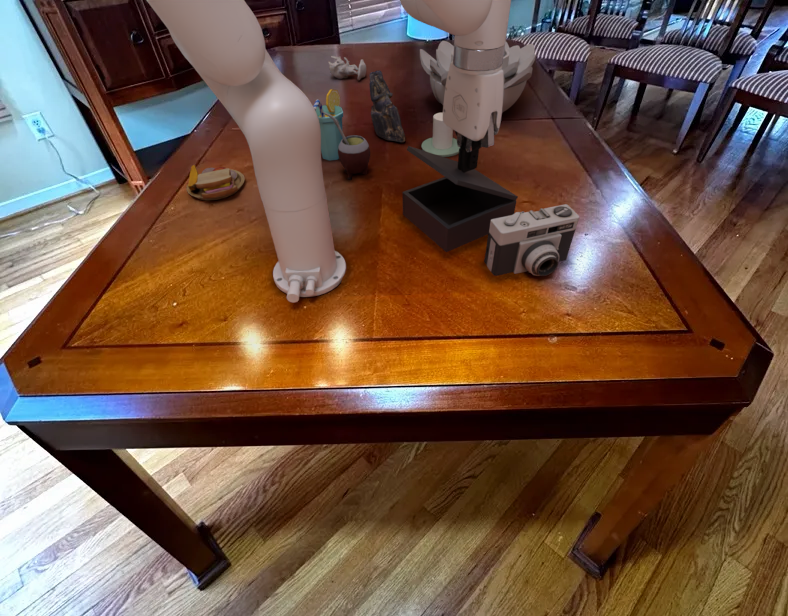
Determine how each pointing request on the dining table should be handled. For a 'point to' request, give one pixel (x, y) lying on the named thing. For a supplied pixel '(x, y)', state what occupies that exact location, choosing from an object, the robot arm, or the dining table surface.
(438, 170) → the box lid
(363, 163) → the mate gourd
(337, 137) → the cup
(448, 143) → the white cylinder
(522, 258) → the camera
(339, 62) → the figurine
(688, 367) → the dining table surface
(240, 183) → the toy sandwich meal
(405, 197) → the hinged lid box
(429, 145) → the saucer
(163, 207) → the dining table surface
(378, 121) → the statue
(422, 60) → the decorative bowl
